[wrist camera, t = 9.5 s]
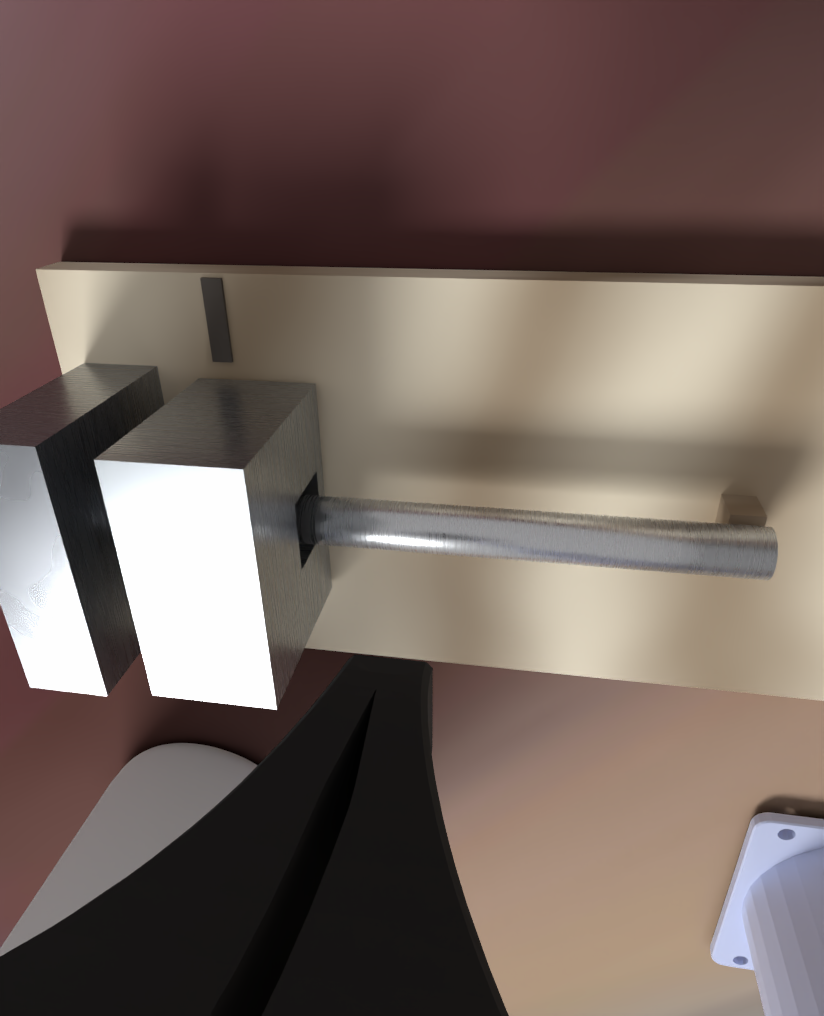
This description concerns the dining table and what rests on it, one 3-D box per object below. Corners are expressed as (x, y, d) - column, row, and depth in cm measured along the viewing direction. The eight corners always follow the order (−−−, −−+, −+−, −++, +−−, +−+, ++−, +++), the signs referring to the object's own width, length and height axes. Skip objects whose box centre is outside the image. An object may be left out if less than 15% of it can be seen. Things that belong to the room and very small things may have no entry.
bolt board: (1079, 281, 15) (1361, 374, 10) (907, 685, 20) (1031, 884, 15) (59, 261, 18) (-134, 322, 13) (143, 610, 24) (29, 751, 18)
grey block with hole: (315, 383, 17) (243, 469, 13) (332, 587, 20) (276, 709, 16) (199, 378, 18) (93, 459, 14) (231, 578, 21) (152, 695, 17)
